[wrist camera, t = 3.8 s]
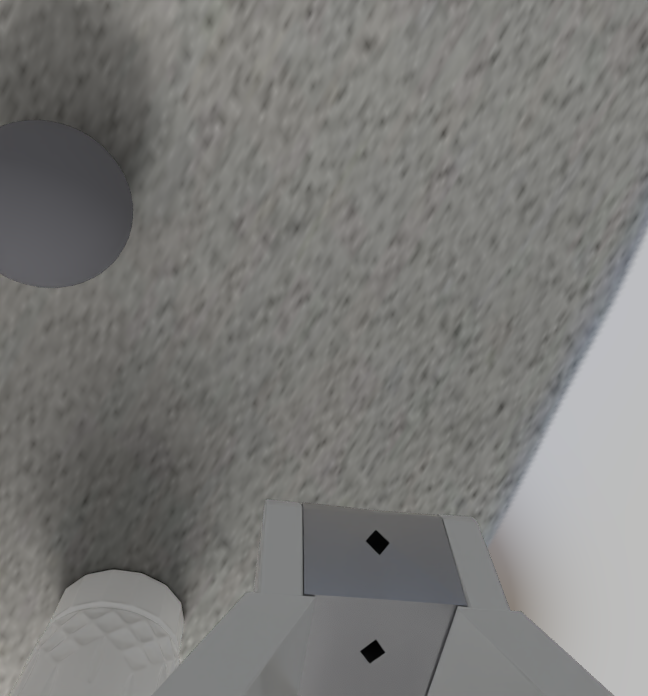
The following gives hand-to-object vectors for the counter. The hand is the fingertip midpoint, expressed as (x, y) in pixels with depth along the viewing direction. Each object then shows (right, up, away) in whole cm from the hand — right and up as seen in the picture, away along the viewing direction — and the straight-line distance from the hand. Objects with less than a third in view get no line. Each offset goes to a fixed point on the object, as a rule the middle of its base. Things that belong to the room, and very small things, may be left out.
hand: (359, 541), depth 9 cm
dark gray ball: (-10, +8, +12) cm, 17 cm away
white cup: (-12, -12, +25) cm, 30 cm away
